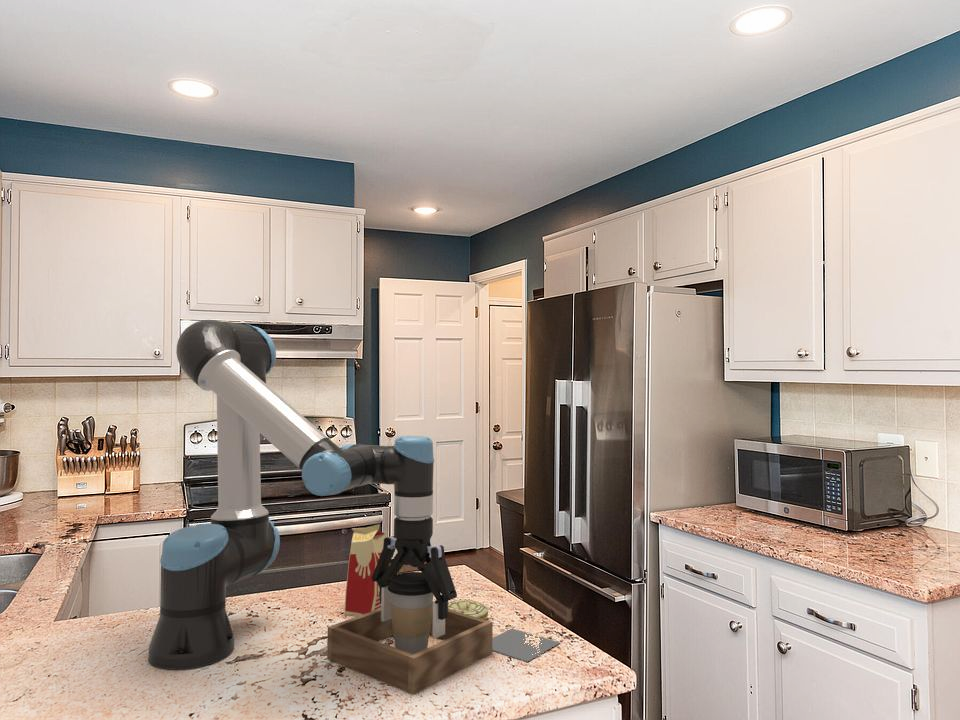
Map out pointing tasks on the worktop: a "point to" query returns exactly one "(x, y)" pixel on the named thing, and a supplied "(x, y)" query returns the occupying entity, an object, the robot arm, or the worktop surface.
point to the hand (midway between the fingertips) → (412, 627)
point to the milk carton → (363, 571)
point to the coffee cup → (411, 611)
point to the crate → (401, 669)
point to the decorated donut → (469, 608)
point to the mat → (520, 645)
